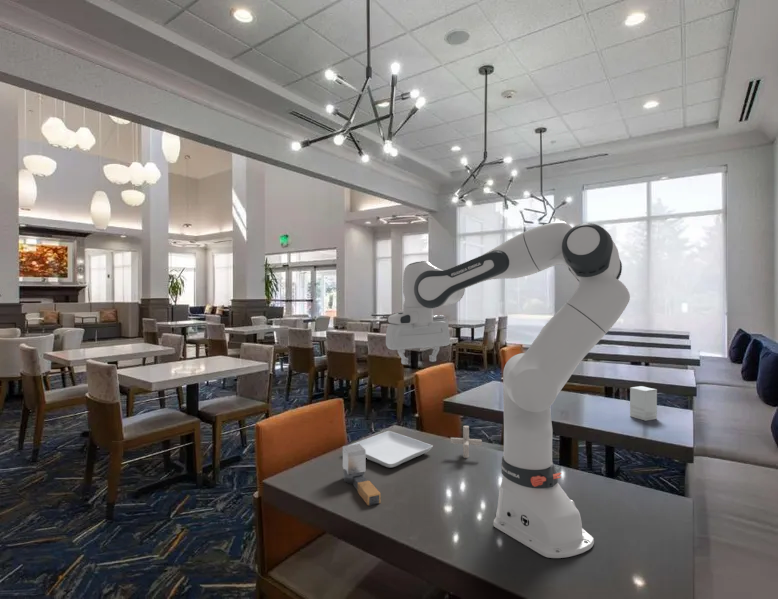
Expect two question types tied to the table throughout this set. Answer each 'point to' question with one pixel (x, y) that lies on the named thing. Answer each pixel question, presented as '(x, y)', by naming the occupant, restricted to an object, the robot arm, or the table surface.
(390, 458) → the salad plate
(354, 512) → the table surface
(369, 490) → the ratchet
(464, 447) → the pipe connector
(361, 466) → the white speckled cube
